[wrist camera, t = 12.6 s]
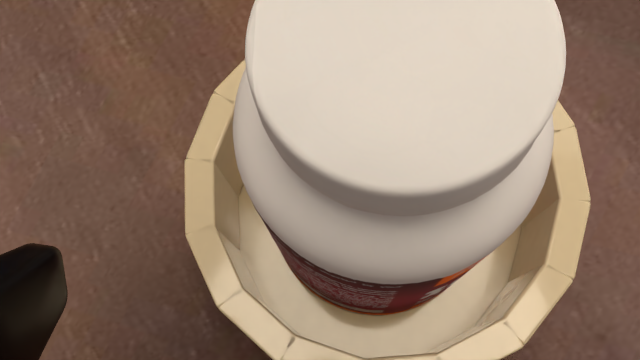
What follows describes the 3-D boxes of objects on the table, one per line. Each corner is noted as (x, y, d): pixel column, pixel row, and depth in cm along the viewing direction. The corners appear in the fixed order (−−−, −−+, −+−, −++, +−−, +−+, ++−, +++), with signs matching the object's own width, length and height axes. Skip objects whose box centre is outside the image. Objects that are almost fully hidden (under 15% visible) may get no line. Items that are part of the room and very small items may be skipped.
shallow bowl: (564, 372, 18) (628, 374, 14) (223, 396, 19) (185, 406, 14) (509, 63, 21) (548, -12, 17) (216, 89, 22) (183, 21, 17)
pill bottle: (439, 348, 18) (561, 328, 7) (248, 276, 19) (116, 168, 8) (497, 160, 20) (666, -75, 9) (318, 102, 20) (281, -173, 10)
